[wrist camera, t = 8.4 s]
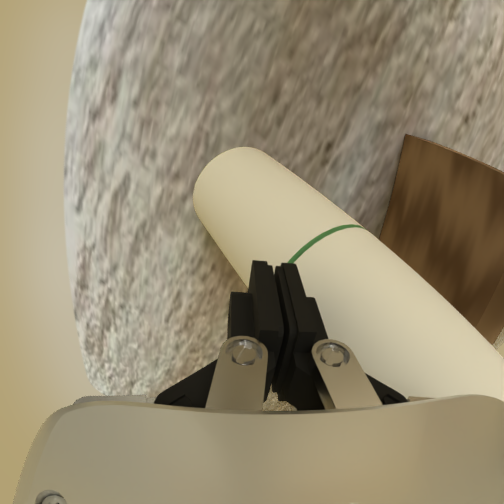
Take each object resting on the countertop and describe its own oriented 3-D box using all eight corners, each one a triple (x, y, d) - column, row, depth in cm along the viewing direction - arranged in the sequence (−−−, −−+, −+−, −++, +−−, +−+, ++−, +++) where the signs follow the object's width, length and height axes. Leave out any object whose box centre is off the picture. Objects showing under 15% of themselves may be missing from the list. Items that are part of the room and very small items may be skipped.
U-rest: (405, 133, 24) (618, 247, 6) (432, 141, 24) (631, 253, 6) (370, 265, 30) (477, 454, 12) (396, 267, 30) (507, 441, 12)
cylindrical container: (226, 245, 27) (431, 513, 11) (173, 194, 22) (435, 561, 5) (290, 189, 27) (530, 422, 10) (250, 127, 22) (585, 416, 5)
